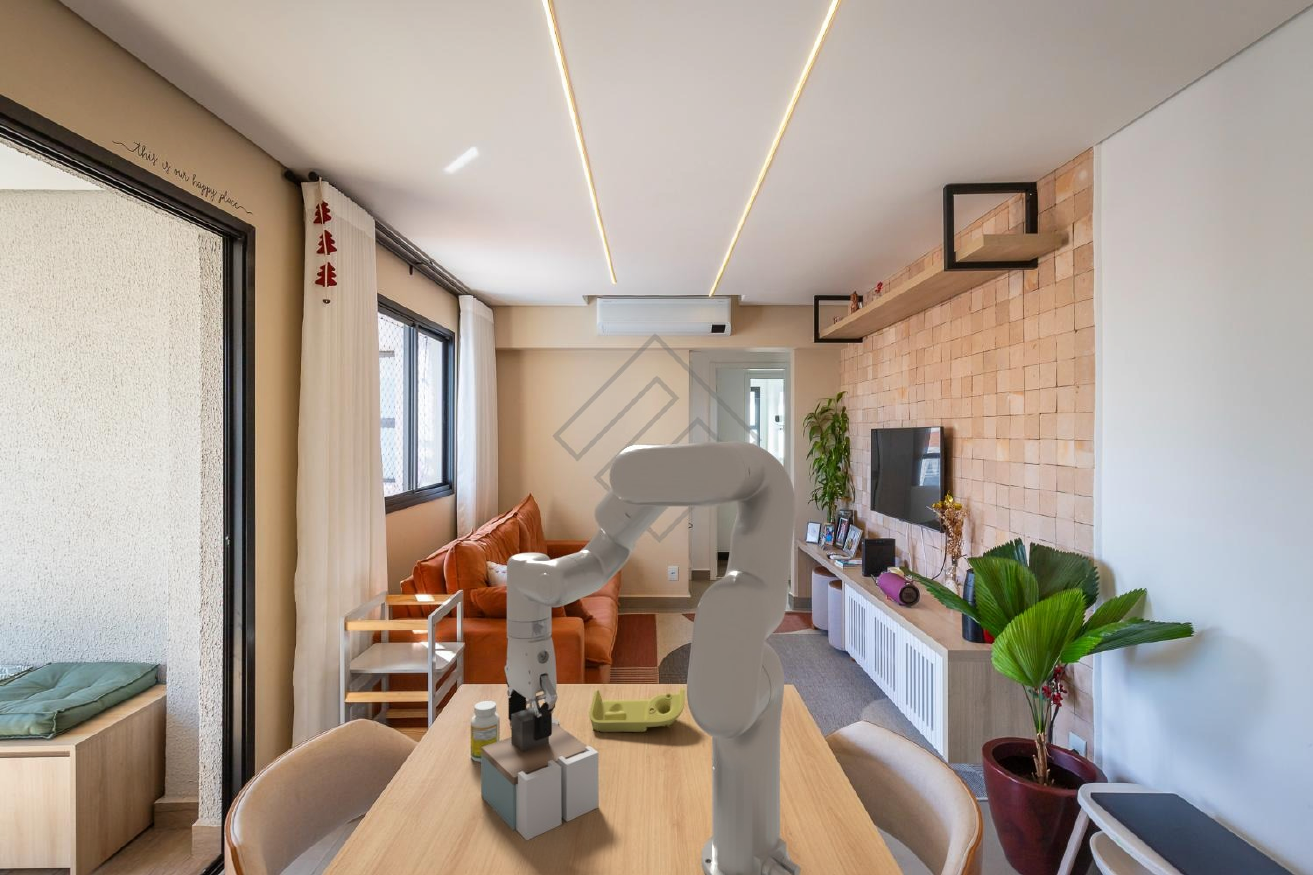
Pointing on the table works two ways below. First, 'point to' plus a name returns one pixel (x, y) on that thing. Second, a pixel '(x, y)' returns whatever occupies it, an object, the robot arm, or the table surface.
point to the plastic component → (635, 712)
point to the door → (530, 747)
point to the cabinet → (543, 793)
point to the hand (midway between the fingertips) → (529, 727)
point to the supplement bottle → (484, 728)
